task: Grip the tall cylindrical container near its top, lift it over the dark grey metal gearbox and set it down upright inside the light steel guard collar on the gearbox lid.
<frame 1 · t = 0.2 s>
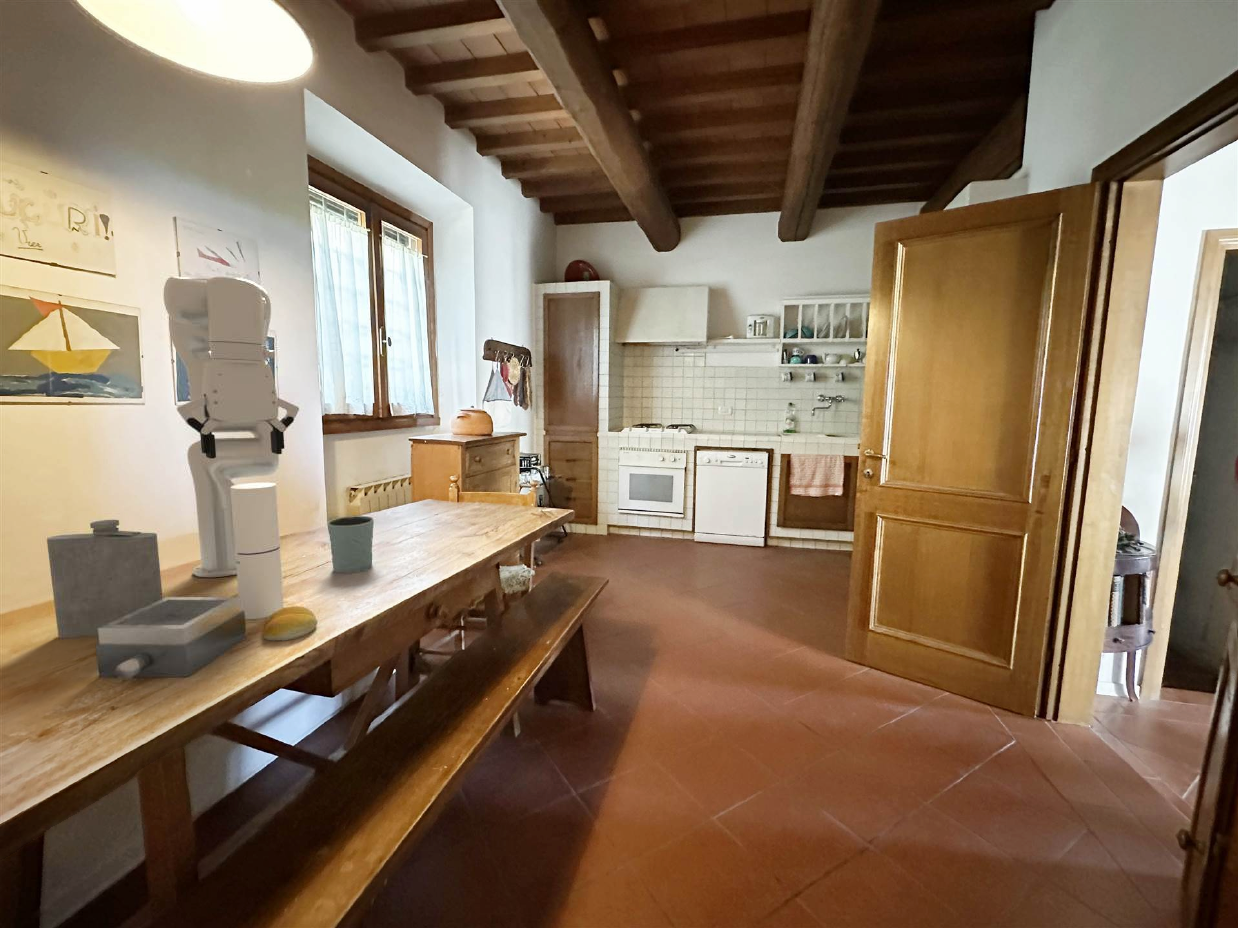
hand: (245, 455, 92), 32 cm above the table, tool pointing down, fingers open, 9 cm apart
hip flask: (115, 632, 94), on the table
bread roll: (290, 632, 96), on the table
cylindrical container: (262, 612, 103), on the table
gearbox: (178, 655, 86), on the table
green cup: (353, 568, 130), on the table
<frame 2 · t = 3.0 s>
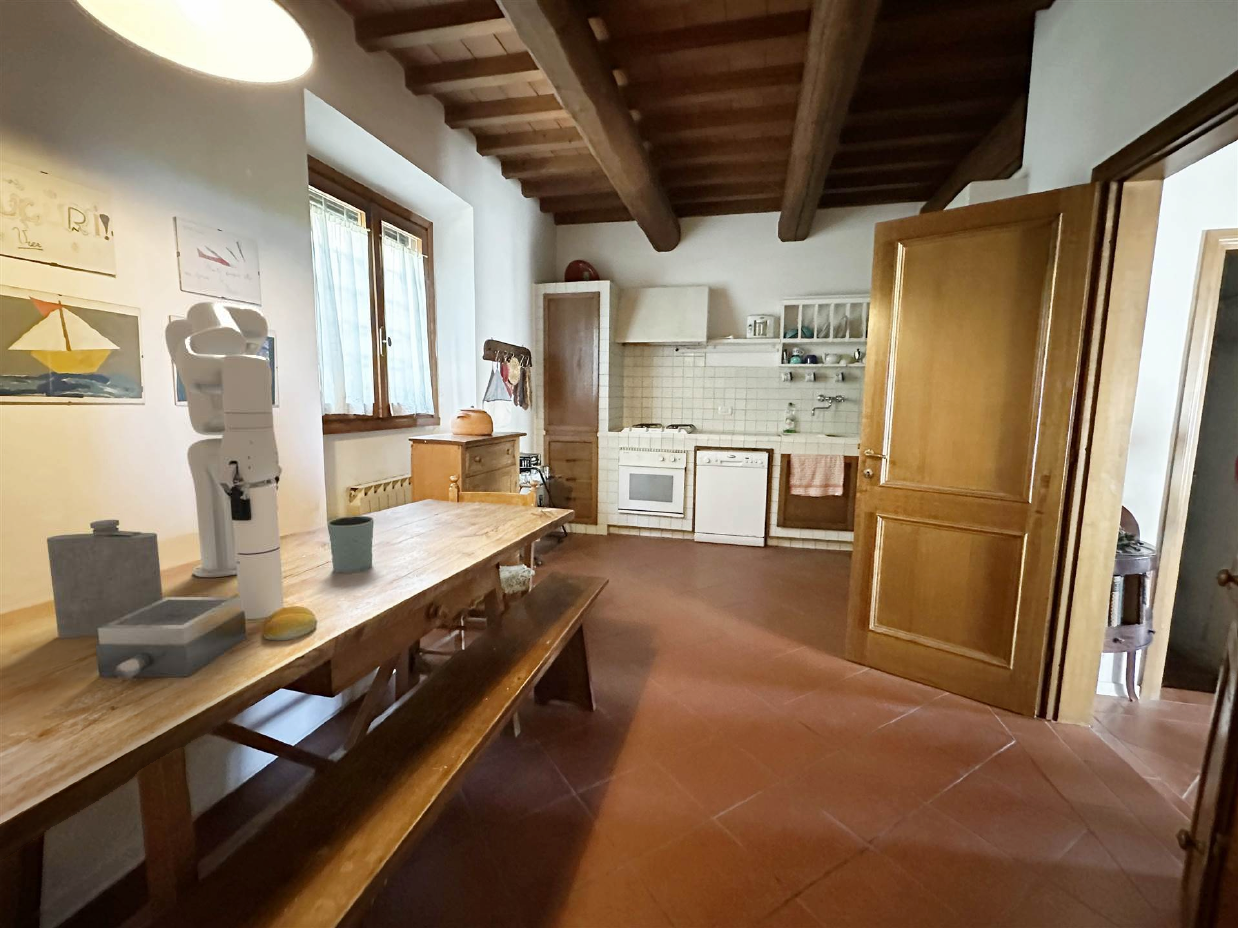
hand: (255, 514, 101), 19 cm above the table, tool pointing down, fingers closed on cylindrical container, 7 cm apart
cylindrical container: (262, 612, 103), on the table, touching gripper
everything else where it was.
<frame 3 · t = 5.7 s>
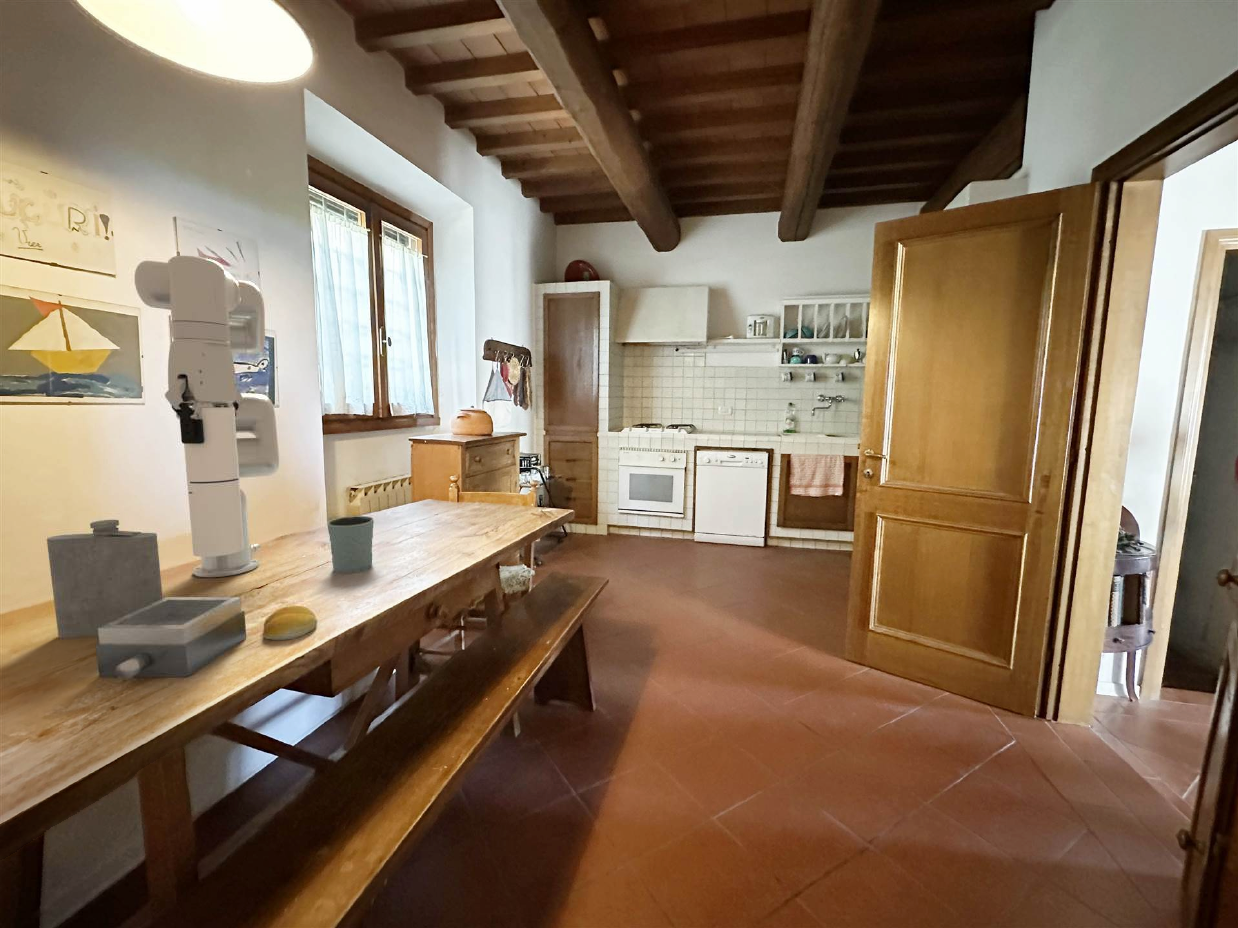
hand: (210, 441, 90), 34 cm above the table, tool pointing down, fingers closed on cylindrical container, 7 cm apart
cylindrical container: (219, 552, 93), point 15 cm above the table, touching gripper
everything else where it was.
when the fingers open (26 cm above the table, at t = 8.7 s): cylindrical container drops 1 cm, resting on gearbox.
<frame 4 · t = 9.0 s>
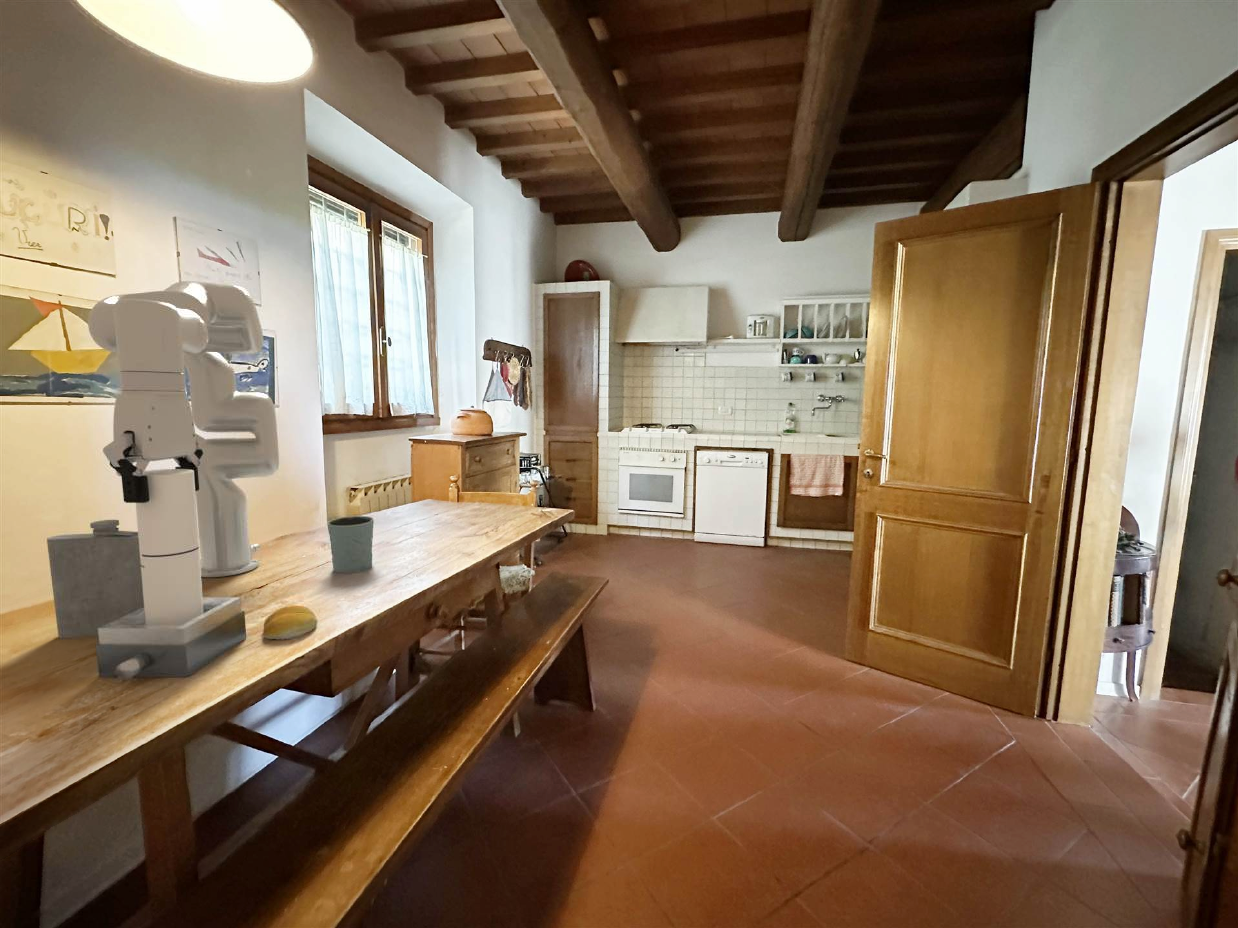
hand: (164, 496, 82), 26 cm above the table, tool pointing down, fingers open, 9 cm apart
cylindrical container: (176, 626, 85), point 5 cm above the table, touching gearbox
everything else where it was.
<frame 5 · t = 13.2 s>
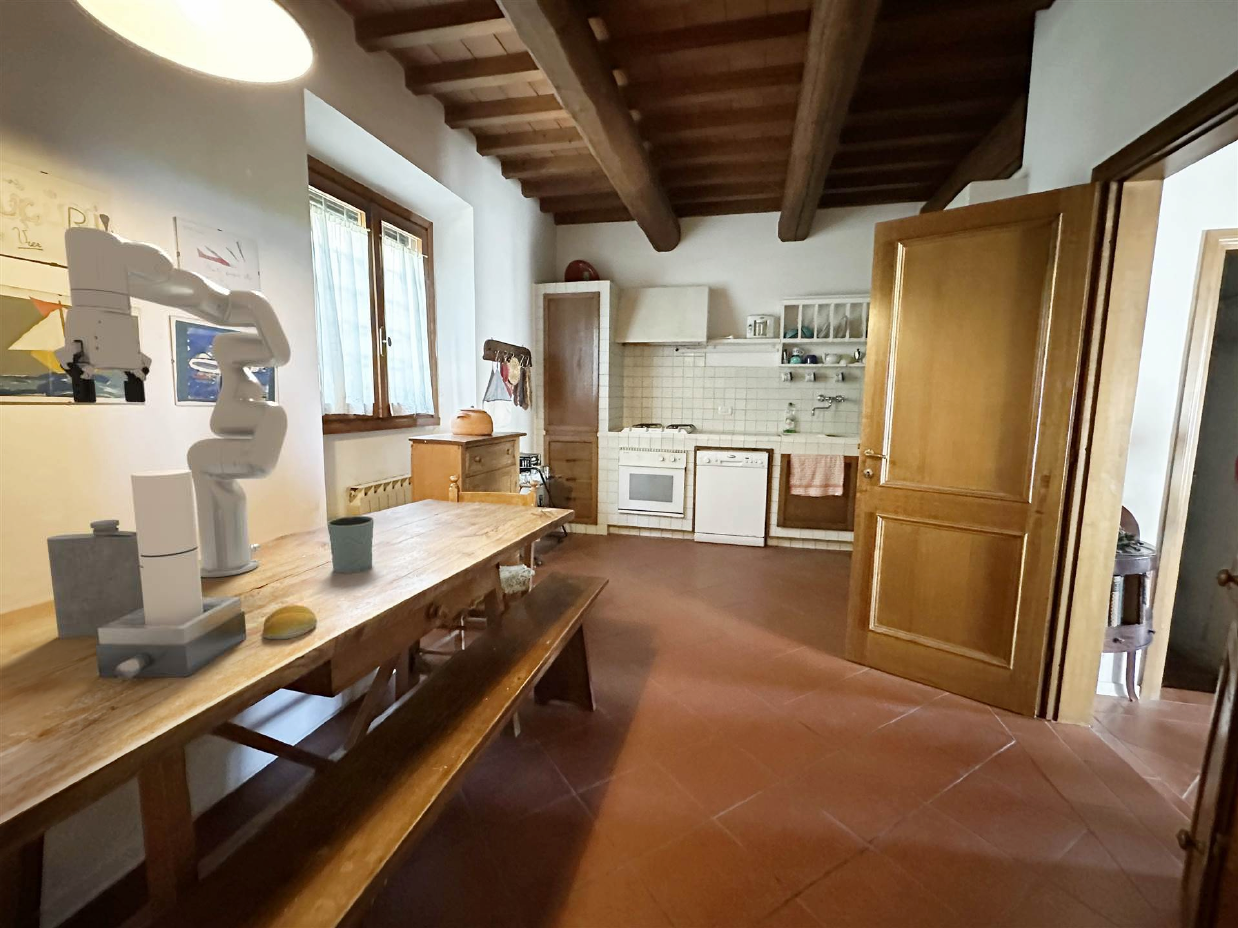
hand: (111, 402, 95), 40 cm above the table, tool pointing down, fingers open, 9 cm apart
nothing on the table moved.
at the end: cylindrical container 0.2 cm off-centre on the gearbox, point 4.8 cm above the gearbox's base; cylindrical container tilted 0°; the gripper is holding nothing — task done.
